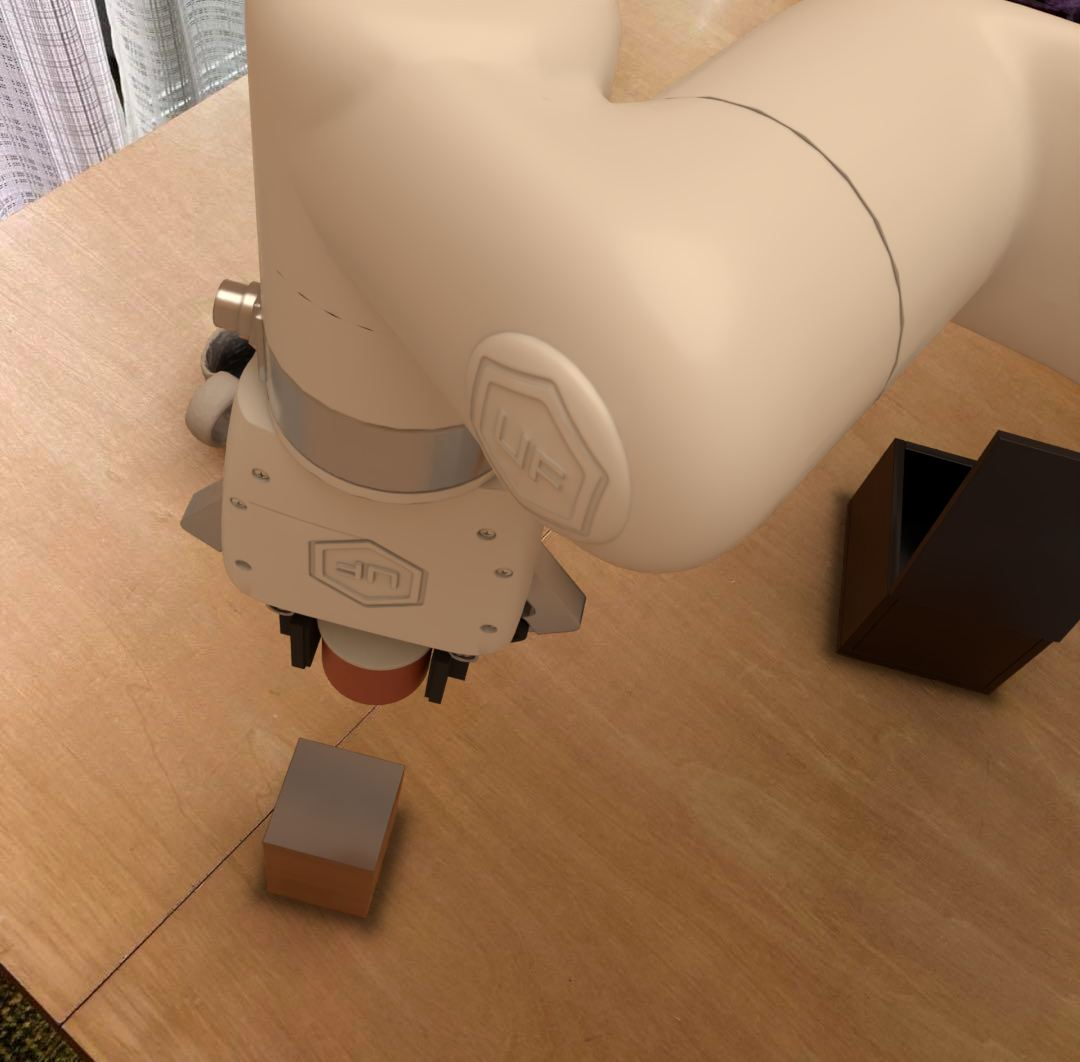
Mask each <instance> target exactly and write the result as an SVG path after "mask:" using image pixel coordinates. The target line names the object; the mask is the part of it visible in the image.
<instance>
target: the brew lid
mask: <svg viewBox="0 0 1080 1062" xmlns="http://www.w3.org/2000/svg"><path fill="white" fill-rule="evenodd" d="M976 460H977V461H976V463H975V464H974V466H973V467H972V469H971V470H970V472H969V473H968V474H967V476H966V477H965V479H964V480H963V482H962V483H961V485H960V486H959V488H958V489H957V491H956V492H955V494H954V495H953V496H952V498H951V499H950V501H949V502H948V504H947V505H946V507H945V508H944V510H943V511H942V513H941V514H940V516H939V517H938V518H937V520H936V521H935V523H934V524H933V526H932V527H931V529H930V530H929V532H928V533H927V535H926V536H925V538H924V539H923V540H922V542H921V543H920V545H919V546H918V548H917V549H916V551H915V552H914V554H913V555H912V557H911V558H910V560H909V561H908V562H907V564H906V565H905V567H904V568H903V570H902V571H901V573H900V574H899V576H898V577H897V579H896V580H895V582H894V583H893V584H892V586H891V587H890V594H891V597H894V598H898V599H901V600H905V601H909V602H912V603H916V604H920V605H923V606H927V607H931V608H934V609H938V610H941V611H945V612H949V613H952V614H956V615H960V616H963V617H967V618H970V619H974V620H978V621H981V622H985V623H989V624H992V625H996V626H1000V627H1003V628H1007V629H1010V630H1014V631H1018V632H1021V633H1025V634H1029V635H1032V636H1036V637H1040V638H1043V639H1047V640H1050V641H1054V642H1055V643H1057V644H1060V643H1061V642H1062V641H1063V639H1064V638H1065V637H1067V635H1068V634H1069V633H1070V632H1071V631H1072V630H1073V628H1074V627H1075V626H1076V625H1077V624H1078V623H1079V622H1080V451H1076V450H1073V449H1069V448H1065V447H1062V446H1057V445H1054V444H1051V443H1047V442H1044V441H1042V440H1041V441H1040V440H1037V439H1033V438H1030V437H1026V436H1023V435H1018V434H1016V433H1012V432H1009V431H1005V430H1001V429H997V430H996V432H995V434H994V435H993V436H992V438H991V439H990V441H989V442H988V443H987V445H986V446H985V448H984V449H983V450H982V452H981V454H980V455H979V457H978V459H976ZM1054 642H1053V643H1054Z"/></svg>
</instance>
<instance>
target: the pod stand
mask: <svg viewBox="0 0 1080 1062" xmlns="http://www.w3.org/2000/svg"><path fill="white" fill-rule="evenodd" d="M405 769H406V765H405V764H402V763H398V762H393V761H391V760H386V759H382V758H379V757H374V756H371V755H368V754H364V753H361V752H356V751H352V750H349V749H345V748H342V747H338V746H334V745H330V744H327V743H323V742H319V741H315V740H311V739H308V738H304V737H299V738H298V740H297V742H296V744H295V748H294V751H293V753H292V757H291V759H290V761H289V765H288V768H287V770H286V774H285V776H284V779H283V781H282V785H281V788H280V791H279V793H278V796H277V799H276V802H275V805H274V807H273V811H272V814H271V815H270V816H271V817H270V819H269V822H268V824H267V827H266V831H265V833H264V836H263V839H262V849H263V850H262V851H263V858H264V870H265V877H266V886H267V893H268V894H272V895H276V896H279V897H284V898H286V899H291V900H295V901H298V902H302V903H305V904H310V905H312V906H313V905H314V906H317V907H321V908H325V909H329V910H332V911H337V912H341V913H344V914H348V915H351V916H356V917H358V918H359V917H360V918H364V919H367V917H368V914H369V911H370V907H371V904H372V900H373V897H374V894H375V889H376V886H377V883H378V880H379V876H380V873H381V869H382V866H383V862H384V859H385V856H386V852H387V849H388V845H389V842H390V838H391V834H392V832H393V828H394V826H395V825H394V824H395V820H396V815H397V809H398V805H399V800H400V796H401V795H400V794H401V790H402V785H403V780H404V775H405V772H406V771H405Z"/></svg>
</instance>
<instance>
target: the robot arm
mask: <svg viewBox="0 0 1080 1062" xmlns="http://www.w3.org/2000/svg"><path fill="white" fill-rule="evenodd" d="M244 30H245V31H244V33H245V49H246V51H245V52H246V68H247V69H246V70H247V82H248V83H247V85H248V101H249V102H248V103H249V116H250V136H251V149H252V150H251V151H252V170H253V185H254V201H255V203H254V204H255V219H256V234H257V251H258V269H259V270H258V271H259V282H258V281H255V280H252V281H251V282H249V284H247V283H243V282H240V281H236V280H232V279H228V278H225V279H223V280H222V281H221V283H220V284H219V286H218V288H217V291H216V294H215V297H214V301H213V307H212V323H213V325H214V327H216V328H223V329H227V330H230V331H234V332H238V335H239V337H240V338H242V339H245V340H249V342H248V343H249V344H250V345H251V346H252V347H253V348H254V349H255V350H256V352H255V354H254V356H253V357H252V359H251V360H250V361H249V363H248V364H247V366H246V367H245V369H244V371H243V373H242V375H241V377H240V380H239V383H238V386H237V390H236V393H235V397H234V401H233V405H232V411H231V416H230V422H229V429H228V435H227V443H226V446H225V454H224V464H223V477H222V478H219V479H217V480H216V481H214V482H212V483H211V484H209V485H207V486H204V487H203V488H201V489H199V490H198V491H196V492H194V493H193V494H192V495H191V497H190V500H189V502H188V504H187V506H186V508H185V511H184V513H183V514H182V517H181V519H180V521H179V525H180V527H181V529H183V530H184V531H185V532H187V534H190V535H191V536H193V537H195V538H196V539H198V540H199V541H200V542H202V543H203V544H205V545H207V546H209V547H210V548H212V549H214V550H215V551H217V552H218V553H221V554H222V561H223V565H224V568H225V572H226V574H227V577H228V578H229V580H230V581H231V583H232V584H233V586H234V587H236V589H238V590H239V591H240V592H241V593H243V594H245V595H246V596H248V597H250V598H252V599H254V600H256V601H258V602H260V603H263V604H264V605H265V606H266V608H268V610H270V611H271V612H273V613H275V614H277V615H278V620H279V621H278V622H279V634H280V635H285V636H289V639H290V642H289V643H290V663H291V667H293V668H298V669H300V670H305V669H306V668H311V667H312V664H313V662H314V660H315V656H316V653H317V650H318V647H319V644H320V641H321V640H322V636H321V634H320V631H319V628H318V623H317V619H321V620H325V621H329V622H332V623H336V624H340V625H344V626H347V627H351V628H355V629H359V630H363V631H367V632H371V633H374V634H378V635H382V636H386V637H390V638H394V639H398V640H402V641H406V642H410V643H414V644H418V645H422V646H426V647H431V648H433V650H432V654H431V660H430V665H429V669H428V673H427V679H426V684H425V690H424V695H423V697H424V698H426V699H428V701H427V702H430V703H434V704H437V705H441V704H442V700H443V698H444V694H445V691H446V690H445V689H446V686H447V683H448V679H449V678H450V679H451V678H452V679H455V680H459V681H464V682H465V681H466V678H467V674H468V670H469V667H470V663H474V662H477V661H478V660H479V658H480V656H489V655H493V654H497V653H499V652H501V651H503V650H505V649H507V647H509V645H510V644H513V643H517V642H522V641H525V640H527V639H528V638H527V637H528V634H529V633H535V634H536V635H538V636H540V635H541V636H542V635H552V634H559V633H561V634H563V633H573V632H577V631H579V630H580V629H581V625H582V621H583V616H584V611H585V606H586V601H587V596H586V594H585V593H584V592H583V591H582V589H581V588H580V586H578V584H576V581H574V580H573V578H572V577H571V576H570V575H569V574H568V572H567V571H566V570H565V568H564V567H563V566H562V565H561V564H560V563H559V561H558V560H557V559H556V558H555V556H554V555H553V554H552V553H551V552H550V550H549V549H548V548H547V547H546V545H545V544H544V543H543V541H542V538H543V535H544V529H545V528H544V527H546V528H548V529H549V530H550V531H552V532H554V533H555V534H557V535H559V536H560V537H562V538H565V539H567V540H569V541H570V542H571V543H573V544H574V545H575V546H576V547H578V548H579V549H581V550H583V551H584V552H586V553H588V554H589V555H591V556H593V557H595V558H597V559H599V560H601V561H603V562H605V563H607V564H609V565H612V566H614V567H617V568H620V569H624V570H628V571H632V572H636V573H641V574H651V575H664V574H675V573H683V572H686V571H690V570H694V569H697V568H700V567H702V566H704V565H707V564H709V563H710V562H713V561H715V560H717V559H719V558H721V557H722V556H724V555H726V554H728V553H729V552H731V551H733V550H734V549H736V547H737V546H738V545H740V544H741V543H742V542H743V541H745V540H746V539H747V538H748V537H749V536H750V535H752V534H753V533H754V532H755V531H756V530H758V529H759V528H760V527H761V526H762V525H763V524H764V523H765V522H766V521H767V520H768V519H770V518H771V516H772V515H773V514H774V513H775V512H776V511H777V509H779V507H780V506H781V505H782V504H783V503H784V502H785V501H786V499H788V497H789V496H790V495H791V494H792V493H793V491H795V489H797V487H798V486H799V485H801V483H802V482H803V481H804V480H805V479H806V478H807V477H808V475H809V474H810V473H811V472H812V471H813V470H814V469H815V467H817V465H819V463H820V462H821V461H822V460H824V458H825V457H826V456H827V455H828V454H829V452H830V451H831V450H833V448H834V447H835V446H836V445H837V444H838V443H839V442H840V440H841V439H842V438H844V436H845V435H846V434H847V433H848V432H849V431H850V429H852V428H853V426H854V425H856V423H857V422H858V421H859V420H860V419H861V418H862V417H863V416H864V414H866V412H867V411H868V410H869V409H870V408H871V407H872V406H873V405H874V404H876V403H877V402H878V401H879V400H880V399H881V397H883V395H884V394H885V393H886V392H887V391H889V389H890V388H891V387H892V385H893V384H894V383H895V382H896V381H898V379H899V378H900V377H901V375H902V374H903V373H904V372H905V371H906V370H907V369H908V368H909V367H910V366H911V365H912V364H913V362H914V361H915V360H916V359H917V358H918V357H919V356H920V355H921V353H923V352H924V350H925V349H926V348H927V347H928V346H929V345H930V344H931V343H932V341H934V339H936V337H937V336H938V335H939V333H940V332H941V331H942V330H943V329H944V328H945V327H946V326H947V325H948V323H953V324H955V325H956V326H960V327H961V328H964V329H966V330H968V331H969V332H973V333H974V334H976V335H979V336H981V337H984V338H985V339H987V340H989V341H992V342H994V343H996V344H998V345H1000V346H1003V347H1004V348H1008V349H1010V350H1011V351H1014V352H1015V353H1017V354H1019V355H1021V356H1023V357H1026V358H1027V359H1029V360H1031V361H1034V362H1035V363H1037V364H1040V365H1042V366H1044V367H1046V368H1048V369H1050V370H1052V371H1053V372H1055V373H1057V374H1058V375H1060V376H1061V377H1064V378H1066V379H1067V380H1069V381H1070V382H1072V383H1075V384H1076V385H1078V386H1079V387H1080V23H1077V22H1074V21H1071V20H1068V19H1065V18H1063V17H1060V16H1056V15H1054V14H1050V13H1049V12H1048V13H1047V12H1044V11H1041V10H1038V9H1035V8H1032V7H1029V6H1026V5H1023V4H1021V3H1016V2H1012V1H1008V0H800V1H798V2H796V3H794V4H792V5H790V6H788V7H786V8H785V9H783V10H781V11H779V12H778V13H776V14H775V15H773V16H771V17H770V18H768V19H766V20H764V21H763V22H761V23H759V24H758V25H756V26H755V27H753V28H752V29H750V30H748V31H746V32H745V33H744V34H743V35H741V36H740V37H738V38H736V39H735V40H734V41H732V42H730V43H729V44H727V45H726V46H725V47H723V48H722V49H720V50H719V51H717V52H716V53H714V54H712V55H711V56H709V57H708V58H707V59H706V60H704V61H703V62H702V63H700V64H699V65H697V66H696V67H694V68H693V69H691V70H690V71H689V72H687V73H685V74H683V76H682V77H680V78H679V79H677V80H676V81H675V82H673V83H671V84H669V85H668V86H667V87H665V88H664V89H663V90H661V91H660V92H659V93H657V94H655V95H654V96H653V97H651V98H650V99H648V100H643V101H631V102H630V101H629V102H618V103H616V102H611V98H612V95H613V89H614V85H615V84H614V83H615V79H616V74H617V69H618V62H619V57H620V52H621V46H622V17H621V11H620V5H619V0H244Z"/></svg>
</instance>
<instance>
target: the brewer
mask: <svg viewBox="0 0 1080 1062" xmlns="http://www.w3.org/2000/svg"><path fill="white" fill-rule="evenodd" d="M977 460H978V459H973V458H969V457H966V456H963V455H958V454H956V453H952V452H948V451H944V450H940V449H939V448H938V449H937V448H934V447H930V446H926V445H923V444H919V443H916V442H912V441H909V440H905V439H903V438H898V437H894V439H893V440H892V441H891V443H890V444H889V445H888V447H886V449H885V451H884V452H883V454H882V455H881V456H880V458H879V460H878V461H877V462H876V464H875V465H874V466H873V467H872V469H871V471H870V472H869V473H868V474H867V476H866V477H865V479H864V480H863V482H862V483H861V484H860V486H859V487H858V488H857V490H856V491H855V493H853V495H852V497H851V498H850V499H849V501H848V502H847V511H846V521H845V523H846V524H845V537H844V538H845V539H844V548H843V563H842V576H841V588H840V600H839V601H840V603H839V614H838V616H839V617H838V630H837V641H836V654H838V655H842V656H846V657H849V658H853V659H856V660H861V661H864V662H868V663H871V664H874V665H879V666H883V667H886V668H889V669H893V670H897V671H901V672H905V673H909V674H911V675H915V676H919V677H923V678H926V679H930V680H934V681H937V682H940V683H941V682H942V683H945V684H949V685H952V686H955V687H959V688H963V689H967V690H970V691H974V692H977V693H980V694H984V695H991V694H992V693H994V691H996V690H997V689H998V688H999V687H1000V686H1001V685H1003V684H1004V683H1006V681H1008V680H1009V679H1010V678H1011V677H1012V676H1014V675H1015V674H1017V673H1018V672H1019V671H1020V670H1021V669H1022V668H1024V667H1025V666H1026V665H1027V664H1029V663H1030V662H1031V661H1032V660H1033V659H1035V658H1036V657H1037V656H1038V655H1039V654H1041V653H1042V652H1043V651H1044V650H1046V649H1047V648H1048V647H1049V646H1051V645H1052V644H1053V643H1054V641H1050V640H1047V639H1043V638H1040V637H1036V636H1032V635H1029V634H1025V633H1021V632H1018V631H1014V630H1010V629H1007V628H1003V627H1000V626H996V625H992V624H989V623H985V622H981V621H978V620H974V619H970V618H967V617H963V616H960V615H956V614H952V613H949V612H945V611H941V610H938V609H934V608H931V607H927V606H923V605H920V604H916V603H912V602H909V601H905V600H901V599H898V598H894V597H891V594H890V587H891V586H892V584H893V583H894V582H895V580H896V579H897V577H898V576H899V574H900V573H901V571H902V570H903V568H904V567H905V565H906V564H907V562H908V561H909V560H910V558H911V557H912V555H913V554H914V552H915V551H916V549H917V548H918V546H919V545H920V543H921V542H922V540H923V539H924V538H925V536H926V535H927V533H928V532H929V530H930V529H931V527H932V526H933V524H934V523H935V521H936V520H937V518H938V517H939V516H940V514H941V513H942V511H943V510H944V508H945V507H946V505H947V504H948V502H949V501H950V499H951V498H952V496H953V495H954V494H955V492H956V491H957V489H958V488H959V486H960V485H961V483H962V482H963V480H964V479H965V477H966V476H967V474H968V473H969V472H970V470H971V469H972V467H973V466H974V464H975V463H976V461H977Z"/></svg>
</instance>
